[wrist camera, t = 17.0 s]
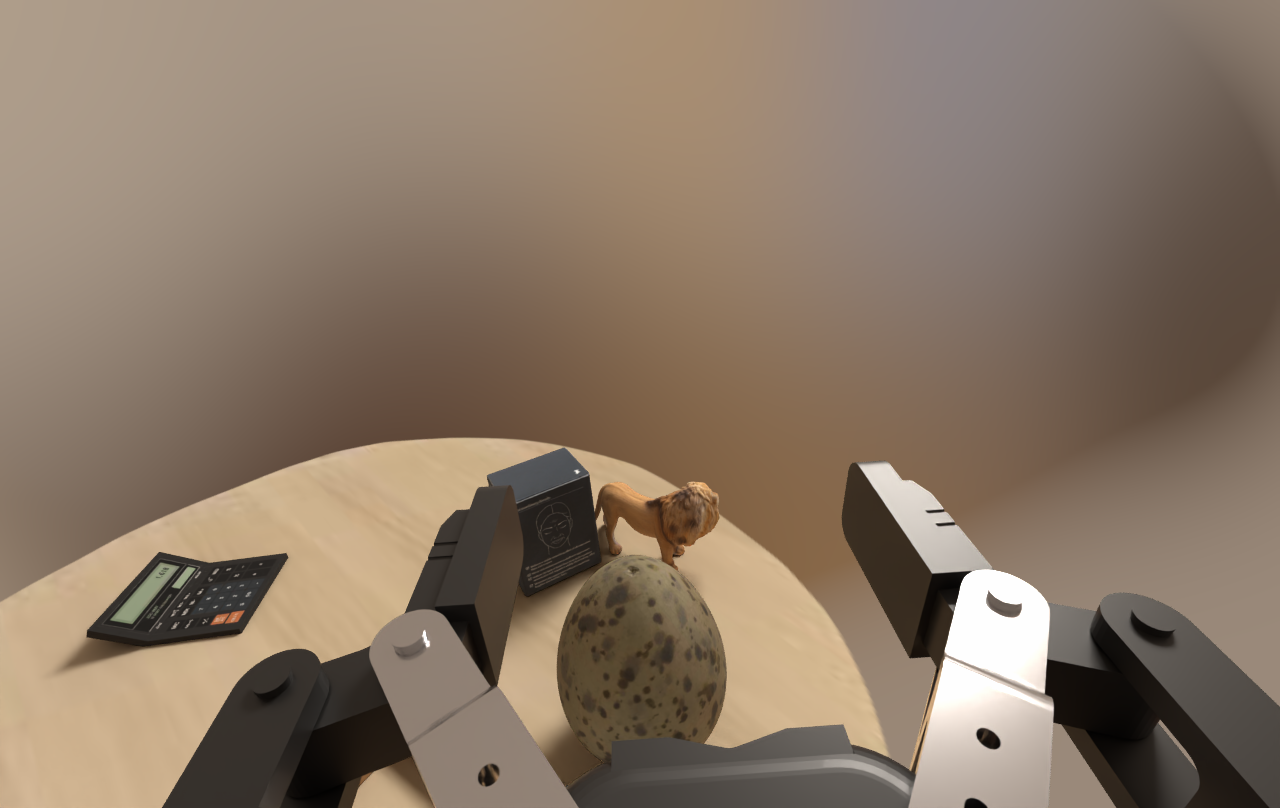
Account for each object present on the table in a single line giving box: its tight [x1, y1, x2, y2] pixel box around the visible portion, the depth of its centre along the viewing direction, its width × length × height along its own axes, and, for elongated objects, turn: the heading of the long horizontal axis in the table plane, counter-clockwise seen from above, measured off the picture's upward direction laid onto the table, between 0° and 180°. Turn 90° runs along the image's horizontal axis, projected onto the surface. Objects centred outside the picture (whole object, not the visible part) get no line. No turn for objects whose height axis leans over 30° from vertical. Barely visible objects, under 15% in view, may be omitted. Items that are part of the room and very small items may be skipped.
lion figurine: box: [595, 482, 719, 570], centre depth 52 cm, size 15×5×9 cm, turn 66°
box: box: [487, 448, 601, 596], centre depth 51 cm, size 8×6×11 cm
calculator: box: [87, 552, 288, 646], centre depth 51 cm, size 9×12×3 cm
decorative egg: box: [557, 555, 727, 763], centre depth 35 cm, size 11×11×15 cm
